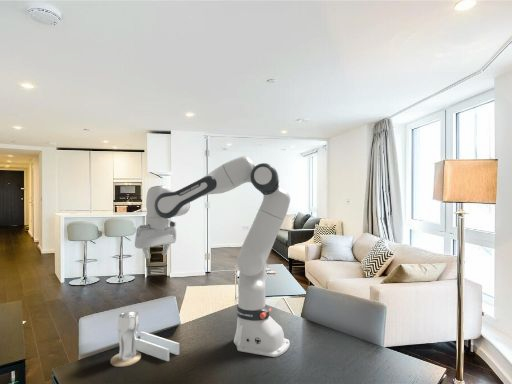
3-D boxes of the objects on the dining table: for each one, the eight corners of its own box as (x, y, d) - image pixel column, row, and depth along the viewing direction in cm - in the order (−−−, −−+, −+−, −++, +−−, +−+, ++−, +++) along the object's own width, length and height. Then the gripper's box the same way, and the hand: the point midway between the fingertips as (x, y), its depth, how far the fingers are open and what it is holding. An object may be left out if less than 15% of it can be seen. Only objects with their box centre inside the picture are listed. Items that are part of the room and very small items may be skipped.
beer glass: (129, 363, 103) (130, 319, 104) (112, 360, 105) (113, 317, 105) (142, 353, 110) (142, 312, 110) (125, 350, 112) (126, 310, 112)
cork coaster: (147, 356, 109) (147, 355, 109) (123, 369, 100) (123, 368, 100) (128, 349, 113) (128, 348, 113) (104, 361, 105) (104, 360, 105)
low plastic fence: (179, 354, 110) (179, 343, 110) (167, 361, 105) (167, 349, 105) (141, 341, 120) (142, 331, 120) (129, 347, 115) (129, 337, 115)
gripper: (142, 225, 117) (142, 261, 117) (178, 222, 136) (178, 253, 135) (131, 225, 120) (131, 259, 120) (168, 222, 138) (168, 252, 138)
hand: (156, 256), depth 128 cm, fingers open, 8 cm apart
